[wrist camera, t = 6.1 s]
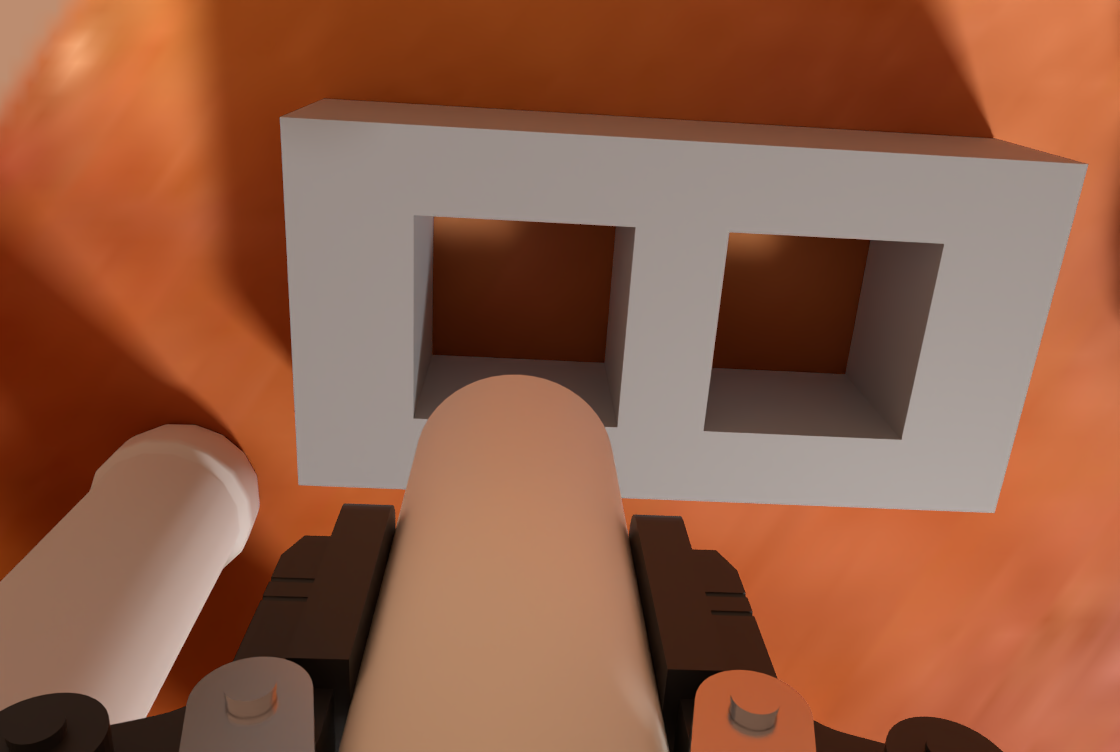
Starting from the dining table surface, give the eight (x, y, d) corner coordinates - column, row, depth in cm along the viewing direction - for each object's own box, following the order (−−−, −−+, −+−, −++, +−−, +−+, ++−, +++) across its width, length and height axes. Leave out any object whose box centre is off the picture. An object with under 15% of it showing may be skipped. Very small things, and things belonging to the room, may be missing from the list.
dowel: (621, 379, 16) (746, 876, 7) (605, 554, 17) (692, 1171, 8) (415, 370, 16) (255, 870, 7) (415, 547, 17) (283, 1172, 8)
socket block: (995, 138, 28) (1088, 164, 23) (925, 438, 31) (994, 512, 27) (324, 98, 27) (279, 117, 22) (334, 412, 30) (298, 485, 26)
